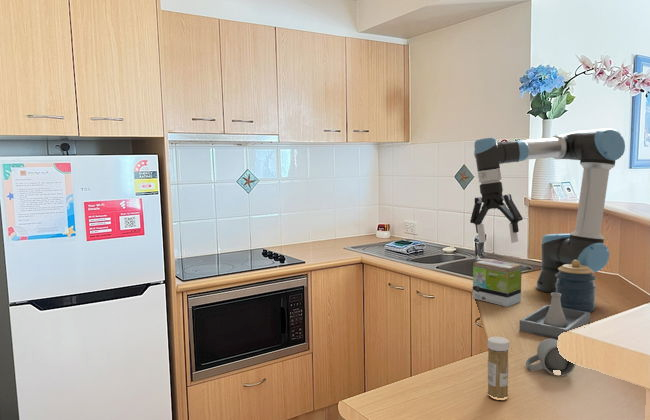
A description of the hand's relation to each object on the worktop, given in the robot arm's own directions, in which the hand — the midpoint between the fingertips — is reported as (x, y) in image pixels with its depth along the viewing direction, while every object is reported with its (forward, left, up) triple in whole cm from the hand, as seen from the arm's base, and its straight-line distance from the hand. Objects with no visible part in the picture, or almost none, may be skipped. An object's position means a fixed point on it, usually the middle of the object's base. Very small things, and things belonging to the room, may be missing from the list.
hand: (498, 242), depth 173 cm
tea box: (-12, -6, -25) cm, 28 cm away
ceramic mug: (+39, +32, -25) cm, 56 cm away
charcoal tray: (+5, +22, -25) cm, 33 cm away
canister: (-20, +20, -25) cm, 37 cm away
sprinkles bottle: (+62, +29, -25) cm, 73 cm away
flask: (+5, +21, -24) cm, 33 cm away
